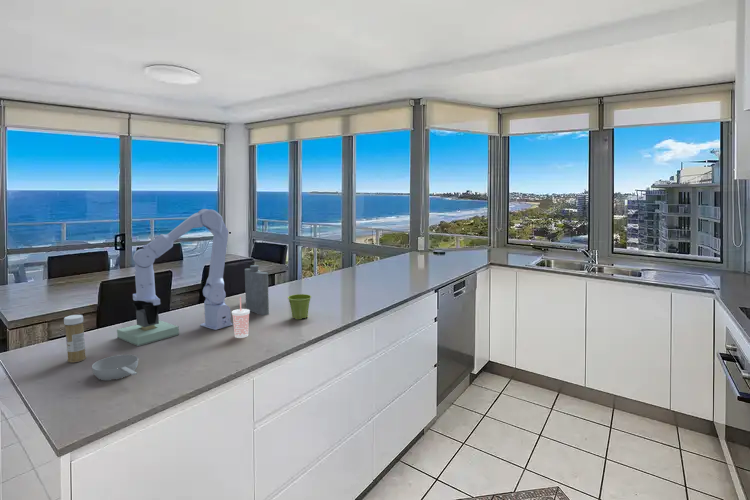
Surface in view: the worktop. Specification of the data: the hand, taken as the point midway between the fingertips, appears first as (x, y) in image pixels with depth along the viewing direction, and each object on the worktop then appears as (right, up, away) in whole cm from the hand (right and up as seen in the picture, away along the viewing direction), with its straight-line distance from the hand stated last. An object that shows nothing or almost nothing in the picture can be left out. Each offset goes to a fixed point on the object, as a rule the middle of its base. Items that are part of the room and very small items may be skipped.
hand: (147, 322), depth 142 cm
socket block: (0, -5, +1) cm, 5 cm away
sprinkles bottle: (-10, -8, -21) cm, 24 cm away
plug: (0, -3, 0) cm, 3 cm away
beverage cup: (+32, -5, +2) cm, 33 cm away
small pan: (+11, -10, -32) cm, 35 cm away
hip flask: (+28, -1, +33) cm, 44 cm away
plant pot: (+49, -3, +24) cm, 54 cm away
